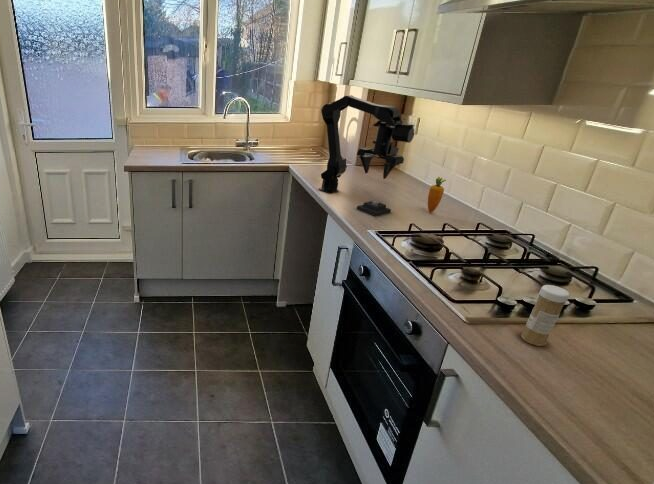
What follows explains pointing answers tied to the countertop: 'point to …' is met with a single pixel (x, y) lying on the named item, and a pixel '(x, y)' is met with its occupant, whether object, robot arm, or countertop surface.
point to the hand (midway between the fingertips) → (375, 175)
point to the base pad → (372, 212)
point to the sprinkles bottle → (544, 314)
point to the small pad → (373, 207)
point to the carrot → (435, 195)
